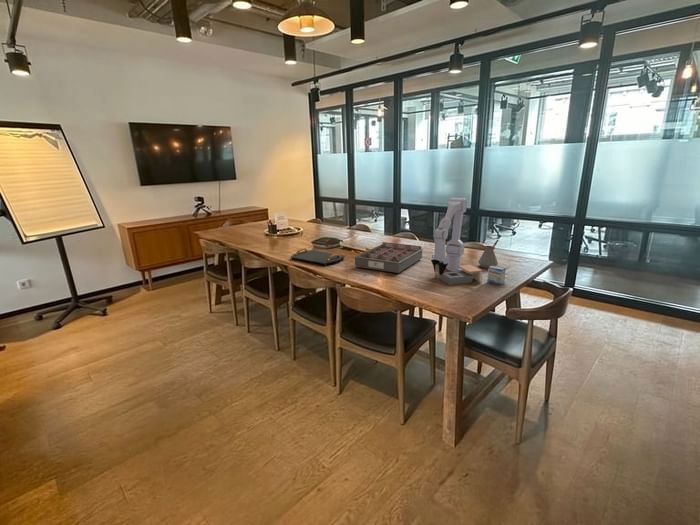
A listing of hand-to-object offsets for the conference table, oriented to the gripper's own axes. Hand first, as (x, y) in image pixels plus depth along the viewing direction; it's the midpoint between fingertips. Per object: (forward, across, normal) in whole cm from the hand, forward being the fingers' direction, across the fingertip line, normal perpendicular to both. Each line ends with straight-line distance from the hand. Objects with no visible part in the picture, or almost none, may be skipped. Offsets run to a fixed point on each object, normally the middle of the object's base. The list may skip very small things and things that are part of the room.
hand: (438, 273), depth 203 cm
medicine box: (+3, +16, +26) cm, 31 cm away
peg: (+3, -1, 0) cm, 3 cm away
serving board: (+3, -66, -60) cm, 89 cm away
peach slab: (+3, +7, +15) cm, 17 cm away
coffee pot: (+2, -14, +44) cm, 46 cm away
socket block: (+3, +7, +7) cm, 11 cm away
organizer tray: (+3, -38, -16) cm, 41 cm away
